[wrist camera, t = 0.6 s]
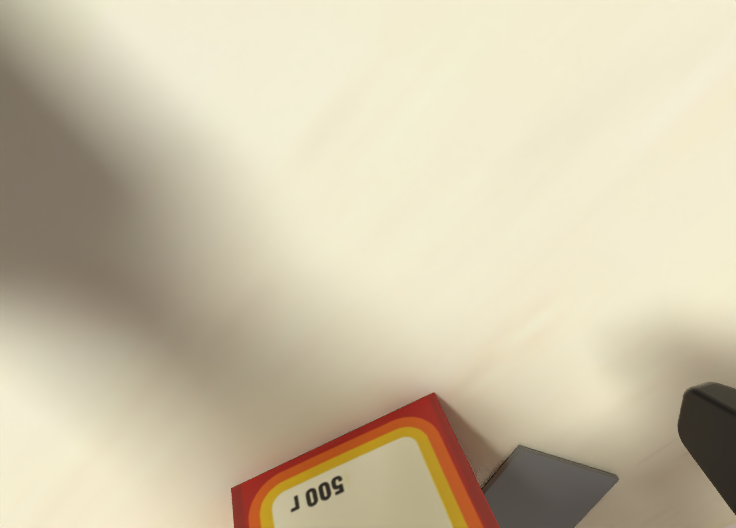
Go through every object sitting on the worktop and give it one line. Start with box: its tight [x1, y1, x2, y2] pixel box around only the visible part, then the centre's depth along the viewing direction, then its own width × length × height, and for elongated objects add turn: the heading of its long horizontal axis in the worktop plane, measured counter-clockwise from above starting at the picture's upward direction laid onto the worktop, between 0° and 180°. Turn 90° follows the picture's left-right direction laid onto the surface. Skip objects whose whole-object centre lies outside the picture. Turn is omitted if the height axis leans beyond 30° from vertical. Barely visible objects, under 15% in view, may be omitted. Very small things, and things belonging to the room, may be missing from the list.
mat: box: [482, 446, 619, 528], centre depth 33 cm, size 7×8×1 cm
